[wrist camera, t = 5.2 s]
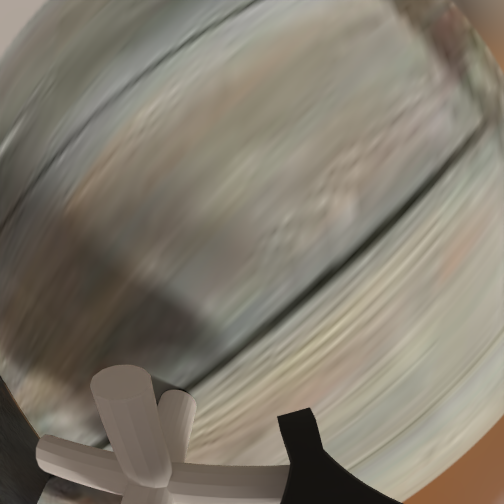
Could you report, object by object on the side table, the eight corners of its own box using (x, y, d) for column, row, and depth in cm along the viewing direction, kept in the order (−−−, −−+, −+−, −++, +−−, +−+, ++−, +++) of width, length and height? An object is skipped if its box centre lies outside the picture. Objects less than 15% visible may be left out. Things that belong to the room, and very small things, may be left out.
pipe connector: (112, 452, 15) (58, 577, 5) (67, 305, 13) (-84, 432, 3) (277, 466, 15) (289, 618, 5) (286, 312, 13) (344, 554, 3)
